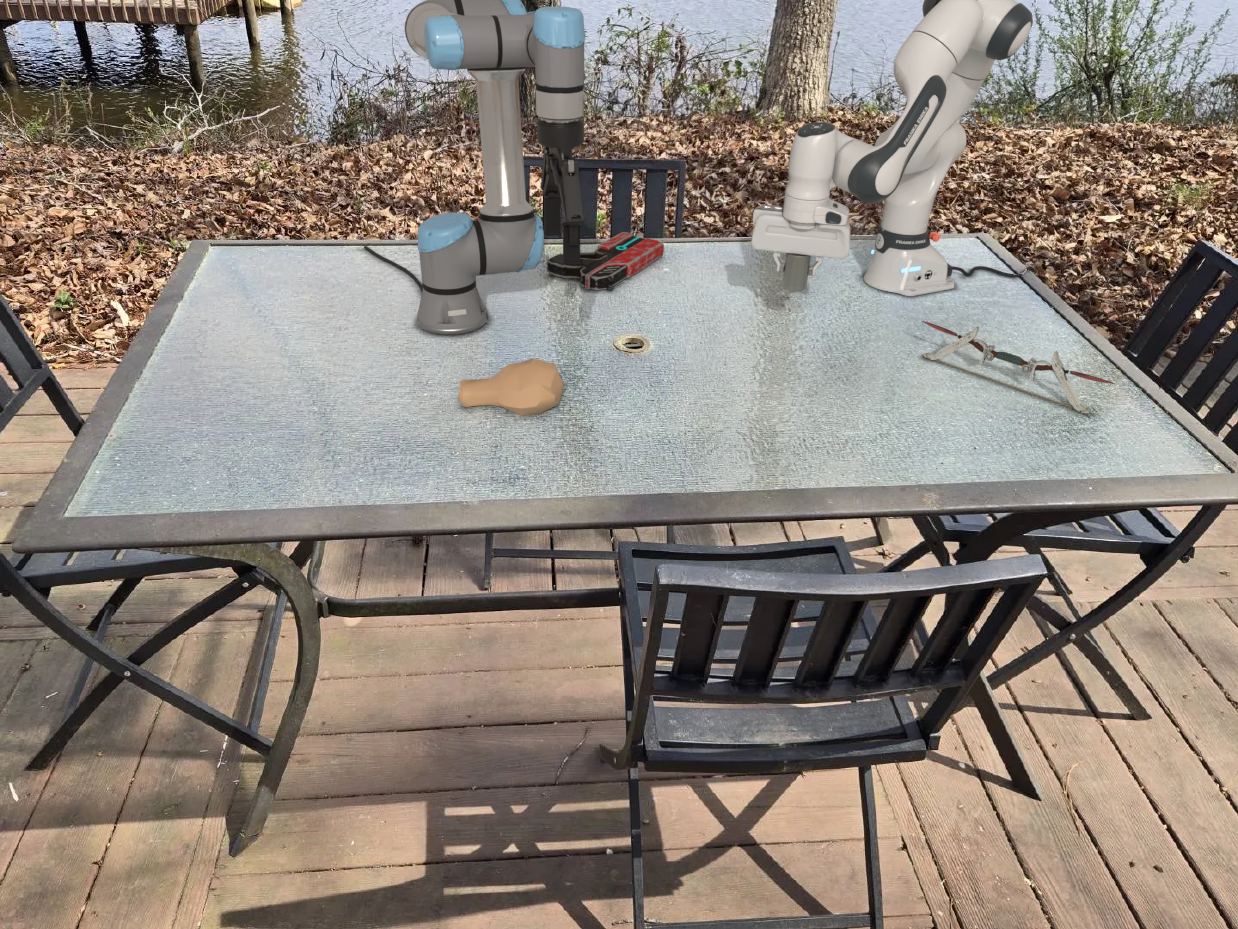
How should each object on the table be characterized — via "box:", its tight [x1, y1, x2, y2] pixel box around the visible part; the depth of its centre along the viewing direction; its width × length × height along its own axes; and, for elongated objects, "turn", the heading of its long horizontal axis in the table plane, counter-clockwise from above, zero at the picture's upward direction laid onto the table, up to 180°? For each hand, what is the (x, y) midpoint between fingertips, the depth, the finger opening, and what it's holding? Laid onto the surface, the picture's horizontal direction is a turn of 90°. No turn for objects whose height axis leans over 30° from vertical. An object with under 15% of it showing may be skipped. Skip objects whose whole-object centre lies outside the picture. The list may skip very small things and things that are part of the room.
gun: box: [546, 231, 665, 292], centre depth 225 cm, size 4×31×19 cm
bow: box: [921, 320, 1114, 414], centre depth 176 cm, size 39×2×10 cm, turn 47°
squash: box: [457, 358, 565, 416], centre depth 164 cm, size 11×20×9 cm, turn 90°
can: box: [781, 253, 812, 292], centre depth 185 cm, size 5×5×8 cm
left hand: (561, 248), depth 150 cm, fingers open, 13 cm apart
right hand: (796, 273), depth 185 cm, fingers closed on can, 5 cm apart
